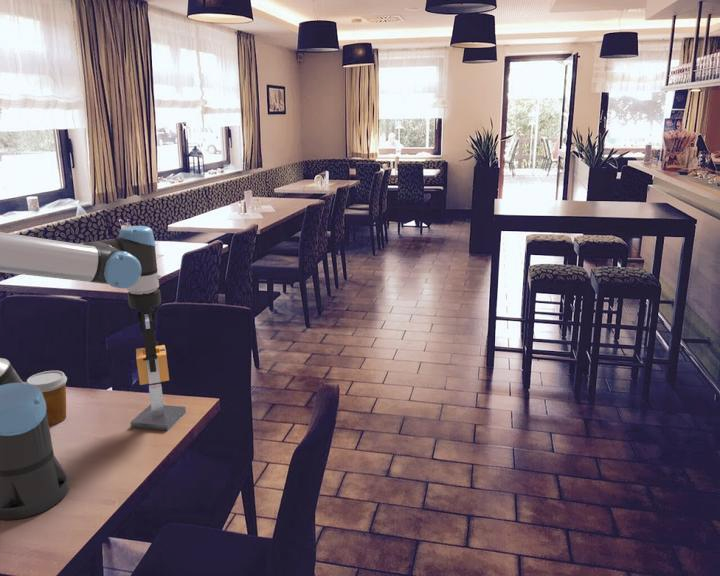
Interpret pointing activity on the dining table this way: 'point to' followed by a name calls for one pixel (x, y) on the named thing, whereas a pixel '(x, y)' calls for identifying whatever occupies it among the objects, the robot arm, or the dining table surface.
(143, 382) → the orange slotted box
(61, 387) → the brown jar with lid
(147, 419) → the post plate
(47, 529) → the dining table surface
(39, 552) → the dining table surface
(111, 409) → the dining table surface
